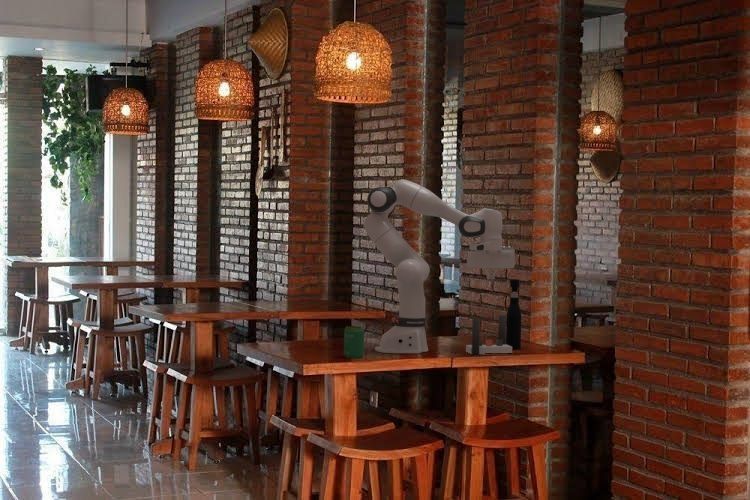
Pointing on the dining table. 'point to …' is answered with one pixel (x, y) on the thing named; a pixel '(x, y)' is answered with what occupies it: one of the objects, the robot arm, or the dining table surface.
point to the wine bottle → (513, 318)
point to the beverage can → (354, 342)
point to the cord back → (502, 328)
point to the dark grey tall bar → (475, 336)
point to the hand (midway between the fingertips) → (490, 279)
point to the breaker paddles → (489, 342)
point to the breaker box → (491, 349)
